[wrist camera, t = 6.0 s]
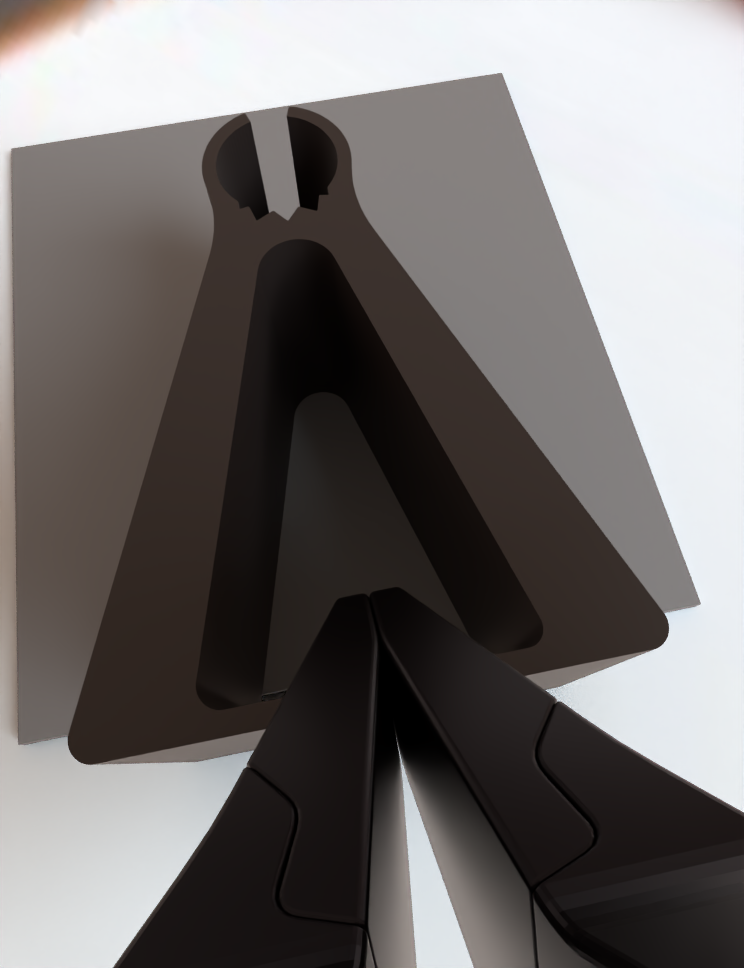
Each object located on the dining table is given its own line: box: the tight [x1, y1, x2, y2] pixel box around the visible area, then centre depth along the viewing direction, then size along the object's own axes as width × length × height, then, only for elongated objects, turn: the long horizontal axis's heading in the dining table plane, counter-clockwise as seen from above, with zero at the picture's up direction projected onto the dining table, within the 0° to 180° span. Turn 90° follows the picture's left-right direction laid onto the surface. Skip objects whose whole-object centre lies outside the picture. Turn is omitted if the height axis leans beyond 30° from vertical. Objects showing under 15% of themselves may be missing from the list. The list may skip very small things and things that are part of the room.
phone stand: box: [68, 106, 669, 765], centre depth 15 cm, size 9×6×12 cm
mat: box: [12, 73, 701, 745], centre depth 19 cm, size 18×16×1 cm
